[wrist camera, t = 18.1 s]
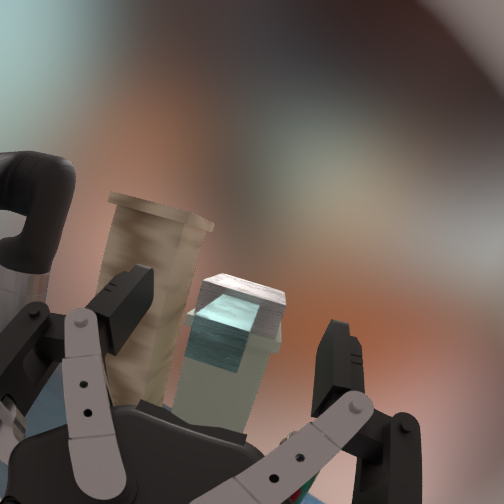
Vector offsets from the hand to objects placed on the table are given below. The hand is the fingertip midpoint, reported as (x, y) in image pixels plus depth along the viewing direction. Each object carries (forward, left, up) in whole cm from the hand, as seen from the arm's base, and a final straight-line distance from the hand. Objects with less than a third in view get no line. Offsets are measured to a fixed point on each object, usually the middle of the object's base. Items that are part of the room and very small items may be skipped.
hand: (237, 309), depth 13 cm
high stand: (-11, +16, -26) cm, 32 cm away
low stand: (-1, +16, -26) cm, 31 cm away
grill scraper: (-1, +12, -4) cm, 12 cm away
